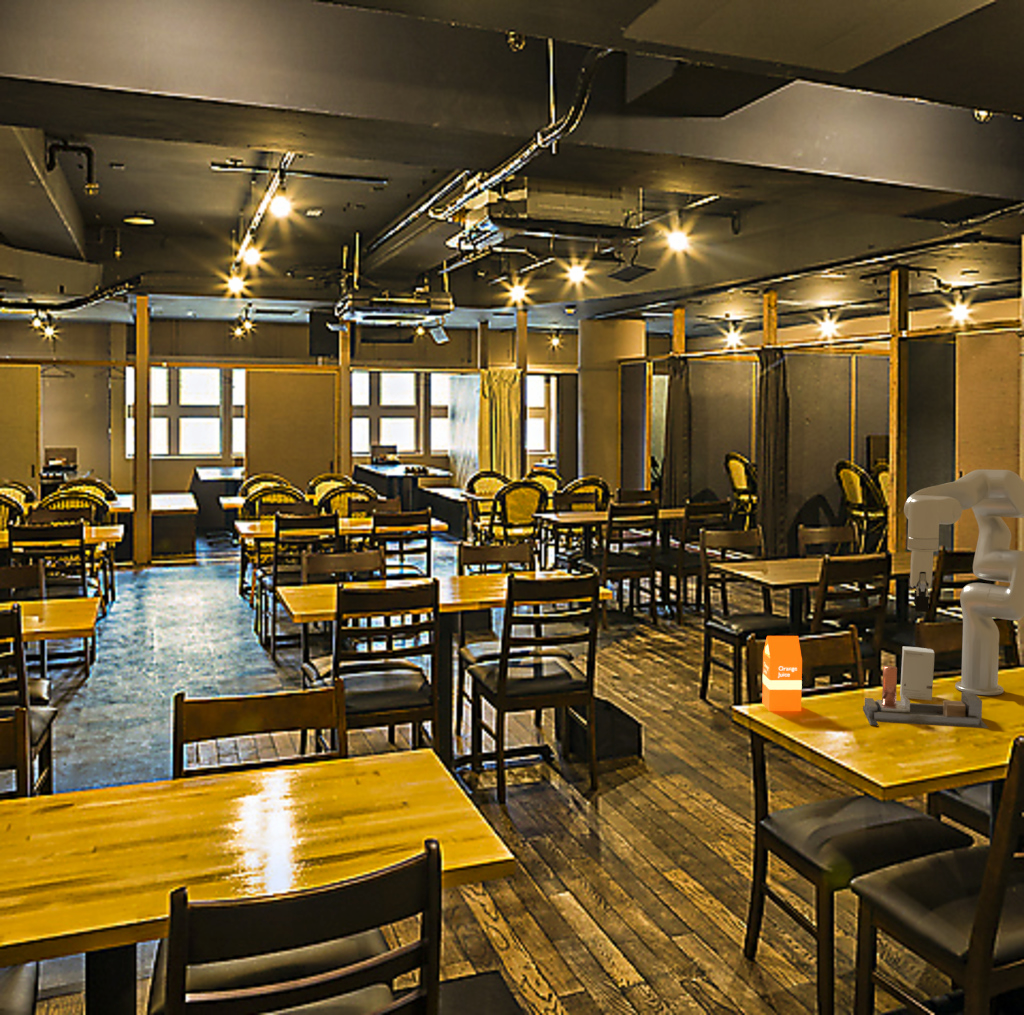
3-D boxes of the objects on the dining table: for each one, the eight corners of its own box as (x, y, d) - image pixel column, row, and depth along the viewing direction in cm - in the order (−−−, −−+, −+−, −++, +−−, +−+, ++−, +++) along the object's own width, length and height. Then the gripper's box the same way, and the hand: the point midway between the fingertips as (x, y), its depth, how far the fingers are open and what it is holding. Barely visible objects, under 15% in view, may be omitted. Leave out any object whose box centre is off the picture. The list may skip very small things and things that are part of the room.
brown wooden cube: (942, 715, 243) (943, 700, 243) (960, 716, 242) (961, 701, 242) (946, 720, 239) (947, 705, 238) (965, 721, 238) (965, 706, 237)
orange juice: (801, 711, 252) (802, 638, 250) (769, 711, 252) (770, 639, 250) (793, 703, 259) (794, 632, 258) (761, 703, 260) (762, 632, 258)
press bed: (862, 710, 252) (863, 684, 252) (974, 716, 246) (975, 689, 245) (870, 725, 239) (871, 698, 238) (988, 732, 232) (989, 704, 232)
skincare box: (900, 701, 260) (902, 649, 259) (899, 696, 265) (901, 645, 264) (933, 704, 257) (934, 652, 256) (931, 698, 262) (933, 647, 261)
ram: (876, 708, 248) (877, 663, 247) (904, 710, 247) (905, 664, 246) (881, 717, 241) (882, 670, 240) (909, 718, 239) (911, 671, 238)
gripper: (906, 540, 254) (905, 602, 255) (908, 547, 238) (906, 613, 239) (936, 541, 251) (935, 603, 252) (940, 548, 235) (938, 615, 236)
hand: (921, 608), depth 246 cm, fingers open, 9 cm apart
